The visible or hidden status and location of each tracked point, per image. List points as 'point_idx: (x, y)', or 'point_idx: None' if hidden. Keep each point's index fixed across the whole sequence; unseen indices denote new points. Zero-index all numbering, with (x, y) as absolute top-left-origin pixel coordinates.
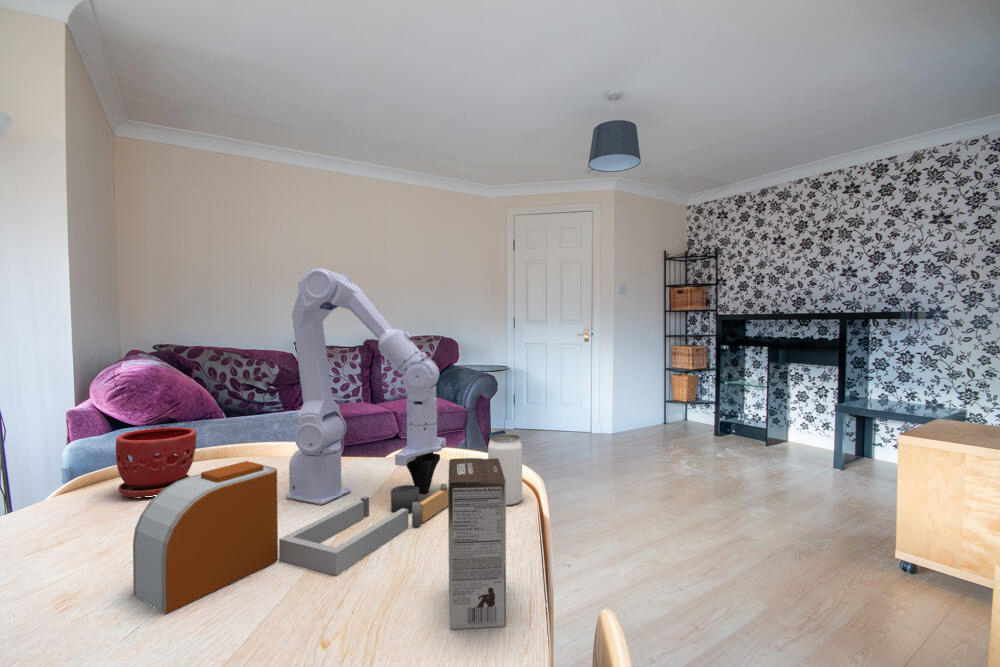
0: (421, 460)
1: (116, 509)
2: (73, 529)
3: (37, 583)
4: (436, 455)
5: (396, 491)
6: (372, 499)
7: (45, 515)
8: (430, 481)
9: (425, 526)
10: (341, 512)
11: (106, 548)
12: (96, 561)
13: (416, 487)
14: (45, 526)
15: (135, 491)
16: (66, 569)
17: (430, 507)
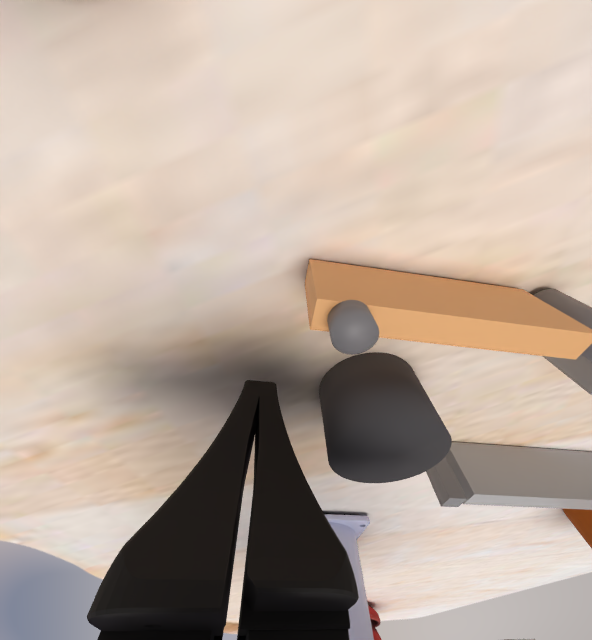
0: (314, 614)
1: (399, 601)
2: (453, 597)
3: (589, 567)
4: (141, 618)
5: (407, 467)
6: (310, 470)
7: (416, 612)
8: (239, 417)
9: (547, 268)
10: (561, 498)
11: (512, 573)
12: (547, 566)
13: (355, 434)
14: (443, 605)
15: (379, 621)
16: (561, 569)
17: (499, 303)
